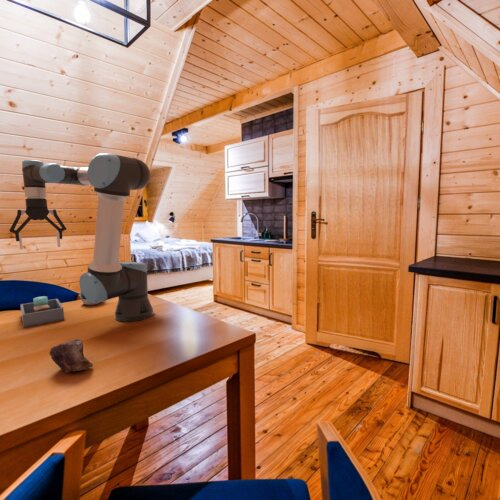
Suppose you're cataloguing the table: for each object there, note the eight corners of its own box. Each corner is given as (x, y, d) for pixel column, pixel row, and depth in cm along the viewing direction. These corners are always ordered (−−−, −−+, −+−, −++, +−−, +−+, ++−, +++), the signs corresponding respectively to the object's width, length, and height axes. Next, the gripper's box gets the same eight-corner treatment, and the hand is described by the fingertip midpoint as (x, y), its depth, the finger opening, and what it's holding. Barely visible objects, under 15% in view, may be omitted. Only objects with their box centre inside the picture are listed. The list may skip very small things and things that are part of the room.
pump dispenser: (109, 302, 153) (107, 271, 151) (88, 308, 144) (86, 275, 142) (96, 299, 158) (94, 269, 156) (76, 304, 149) (73, 273, 147)
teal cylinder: (50, 311, 137) (49, 295, 136) (45, 315, 133) (44, 299, 132) (38, 312, 137) (36, 296, 136) (32, 316, 132) (30, 300, 131)
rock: (88, 361, 96) (49, 370, 90) (87, 333, 96) (48, 340, 90) (94, 371, 86) (51, 381, 80) (92, 340, 86) (49, 348, 80)
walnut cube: (48, 316, 132) (47, 304, 131) (51, 318, 128) (49, 307, 127) (34, 318, 128) (33, 307, 128) (36, 321, 125) (35, 309, 124)
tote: (64, 319, 129) (63, 307, 128) (23, 327, 120) (22, 315, 120) (58, 309, 142) (57, 298, 142) (21, 315, 134) (20, 304, 133)
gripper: (68, 198, 143) (71, 244, 146) (-2, 197, 128) (4, 249, 130) (70, 198, 137) (74, 246, 140) (-2, 197, 122) (4, 251, 125)
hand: (40, 247), depth 135 cm, fingers open, 13 cm apart
